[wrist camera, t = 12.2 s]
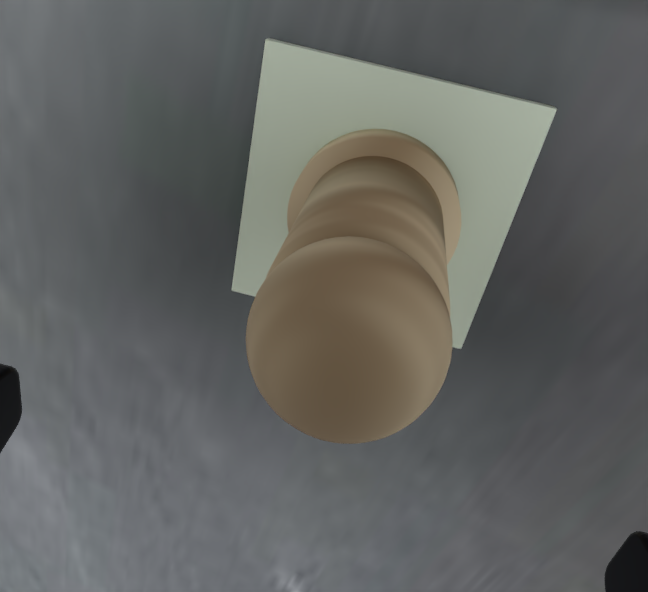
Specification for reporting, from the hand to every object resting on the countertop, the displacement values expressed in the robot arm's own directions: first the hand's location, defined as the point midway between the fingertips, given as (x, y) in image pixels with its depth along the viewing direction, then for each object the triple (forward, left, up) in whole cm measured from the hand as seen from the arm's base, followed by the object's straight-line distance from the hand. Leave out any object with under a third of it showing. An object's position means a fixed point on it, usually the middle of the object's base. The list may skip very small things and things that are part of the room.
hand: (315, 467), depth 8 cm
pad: (0, 0, -11) cm, 11 cm away
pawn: (0, 0, -10) cm, 11 cm away
